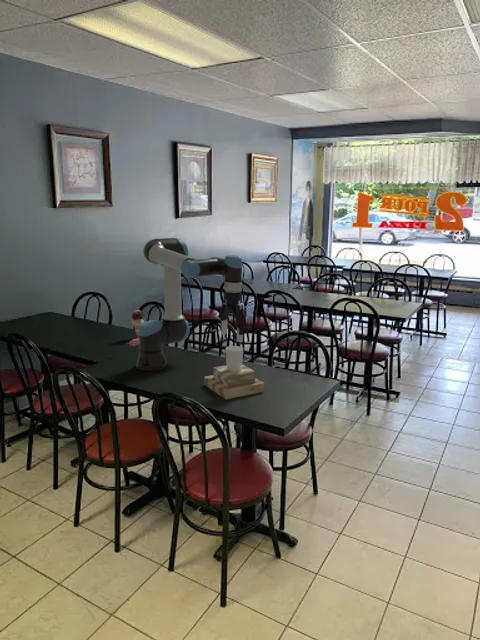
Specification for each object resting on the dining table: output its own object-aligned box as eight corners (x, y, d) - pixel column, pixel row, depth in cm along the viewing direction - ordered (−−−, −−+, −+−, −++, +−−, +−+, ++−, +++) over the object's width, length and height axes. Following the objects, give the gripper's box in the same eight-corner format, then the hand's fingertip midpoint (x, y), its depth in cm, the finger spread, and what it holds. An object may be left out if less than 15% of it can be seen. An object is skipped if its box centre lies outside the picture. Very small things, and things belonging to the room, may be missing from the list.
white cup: (244, 367, 230) (245, 346, 228) (240, 373, 223) (240, 351, 221) (228, 365, 232) (228, 345, 230) (223, 371, 225) (223, 349, 223)
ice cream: (140, 336, 314) (139, 308, 309) (156, 341, 302) (155, 312, 298) (117, 340, 302) (116, 311, 298) (133, 346, 291) (132, 316, 287)
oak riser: (204, 384, 233) (204, 366, 231) (241, 377, 243) (241, 360, 241) (225, 399, 216) (226, 379, 214) (264, 391, 226) (264, 372, 224)
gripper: (211, 287, 228) (211, 332, 233) (240, 296, 207) (239, 345, 212) (226, 286, 232) (225, 330, 237) (255, 295, 211) (254, 343, 216)
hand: (231, 337), depth 225 cm, fingers open, 13 cm apart
